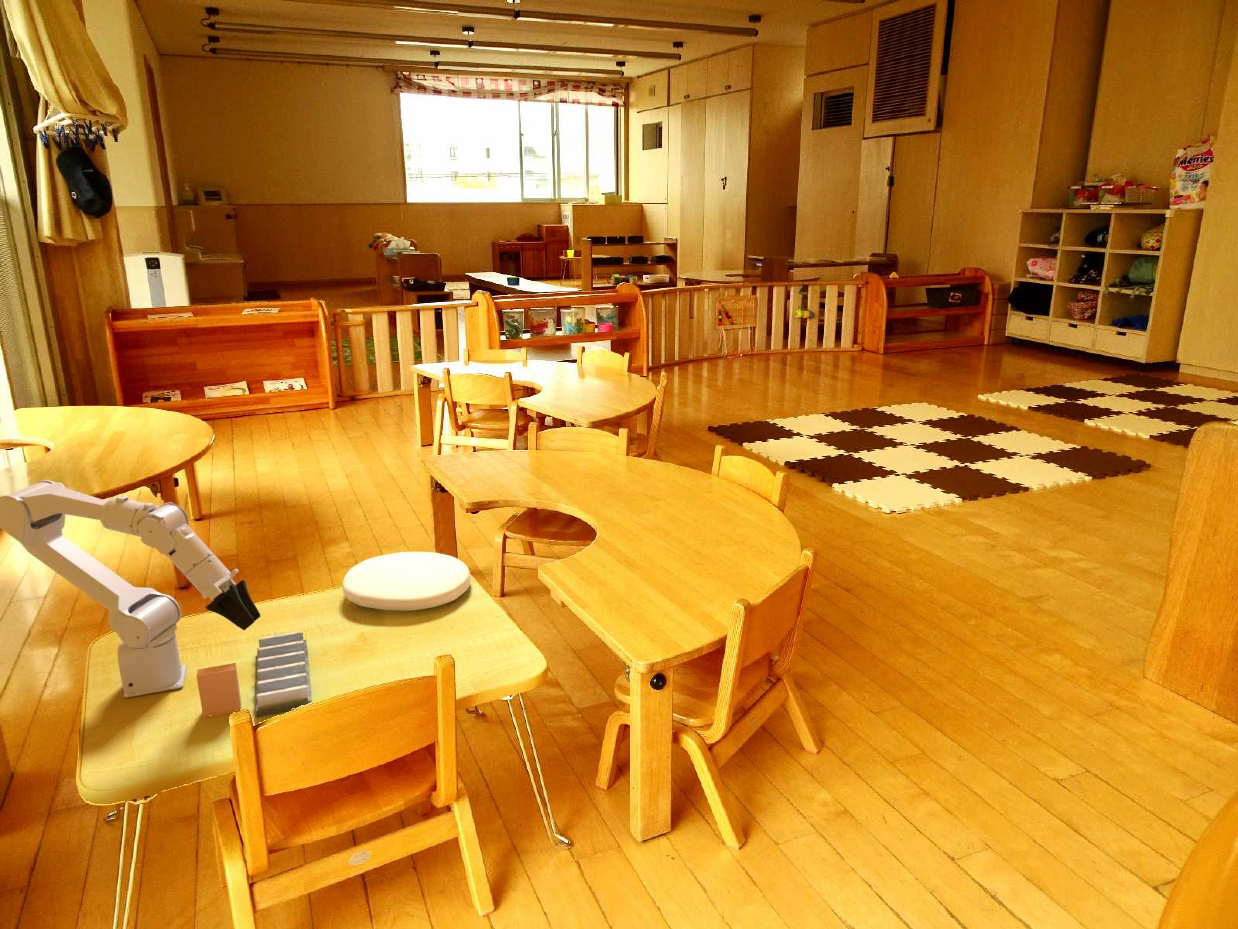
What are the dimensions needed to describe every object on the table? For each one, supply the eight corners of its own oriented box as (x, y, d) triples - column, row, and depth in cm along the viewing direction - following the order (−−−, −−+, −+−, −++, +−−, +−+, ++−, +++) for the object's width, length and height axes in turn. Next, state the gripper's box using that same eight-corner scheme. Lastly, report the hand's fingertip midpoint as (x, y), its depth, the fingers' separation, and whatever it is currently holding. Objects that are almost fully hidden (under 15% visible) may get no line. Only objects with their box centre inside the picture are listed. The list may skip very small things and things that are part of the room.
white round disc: (465, 544, 207) (477, 591, 182) (464, 568, 209) (476, 618, 184) (344, 544, 199) (341, 593, 174) (344, 569, 200) (340, 622, 176)
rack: (256, 717, 145) (254, 699, 144) (258, 653, 166) (255, 637, 165) (312, 706, 148) (310, 688, 147) (306, 645, 169) (304, 628, 168)
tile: (203, 717, 145) (196, 676, 143) (204, 710, 147) (197, 669, 145) (241, 710, 147) (235, 669, 145) (241, 703, 149) (235, 662, 147)
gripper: (210, 552, 141) (266, 613, 143) (226, 547, 155) (276, 602, 157) (174, 580, 139) (230, 641, 141) (193, 573, 153) (244, 628, 155)
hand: (252, 623), depth 149 cm, fingers open, 7 cm apart
